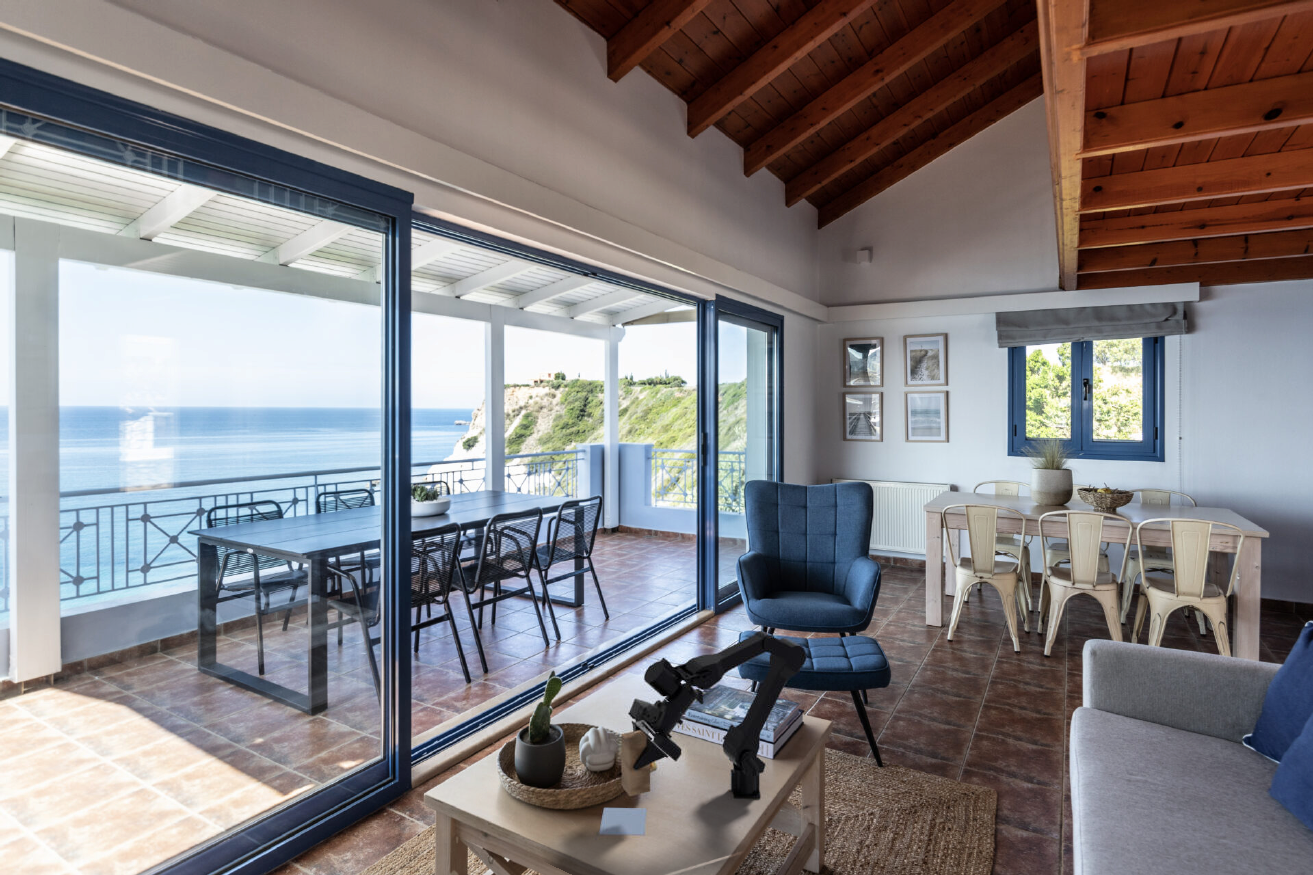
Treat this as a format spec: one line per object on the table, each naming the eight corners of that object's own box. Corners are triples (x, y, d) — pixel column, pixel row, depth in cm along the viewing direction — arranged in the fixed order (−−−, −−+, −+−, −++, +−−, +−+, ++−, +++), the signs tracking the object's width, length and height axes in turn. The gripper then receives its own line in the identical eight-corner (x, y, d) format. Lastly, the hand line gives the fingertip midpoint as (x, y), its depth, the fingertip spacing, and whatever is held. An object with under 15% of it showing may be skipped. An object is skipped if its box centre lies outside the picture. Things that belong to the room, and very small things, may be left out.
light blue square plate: (646, 810, 162) (646, 808, 162) (644, 836, 152) (644, 834, 152) (604, 809, 163) (604, 807, 163) (599, 836, 153) (599, 833, 153)
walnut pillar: (641, 780, 162) (641, 729, 161) (650, 791, 157) (650, 739, 157) (621, 785, 160) (621, 733, 159) (629, 796, 155) (629, 743, 155)
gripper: (635, 672, 167) (592, 726, 164) (668, 702, 150) (621, 763, 146) (665, 699, 171) (624, 752, 167) (700, 731, 154) (655, 791, 150)
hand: (630, 763), depth 158 cm, fingers closed on walnut pillar, 5 cm apart
